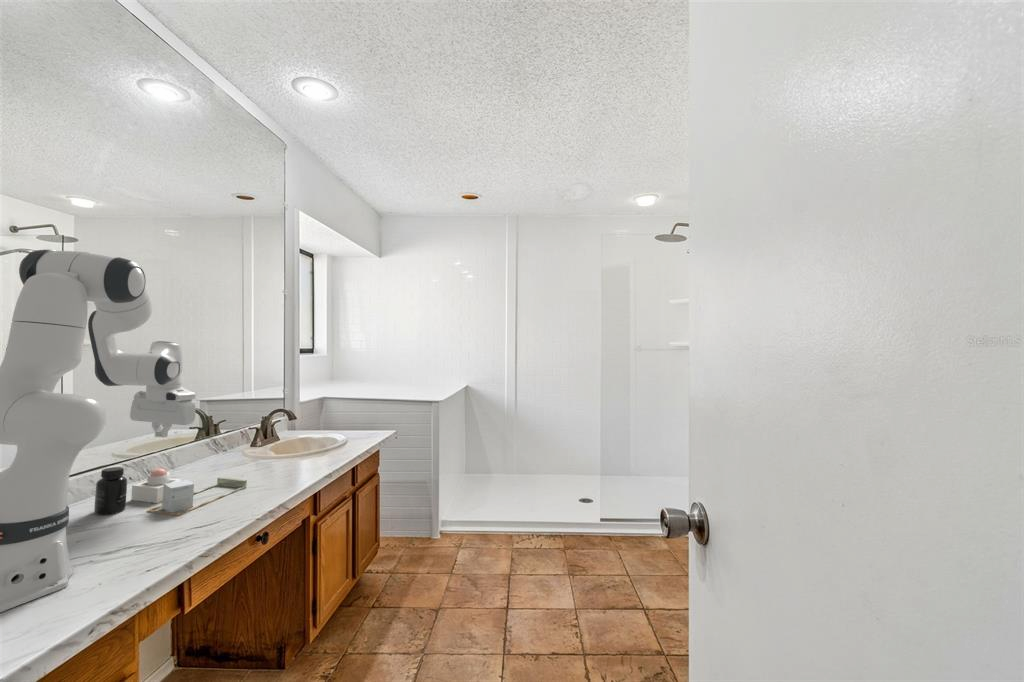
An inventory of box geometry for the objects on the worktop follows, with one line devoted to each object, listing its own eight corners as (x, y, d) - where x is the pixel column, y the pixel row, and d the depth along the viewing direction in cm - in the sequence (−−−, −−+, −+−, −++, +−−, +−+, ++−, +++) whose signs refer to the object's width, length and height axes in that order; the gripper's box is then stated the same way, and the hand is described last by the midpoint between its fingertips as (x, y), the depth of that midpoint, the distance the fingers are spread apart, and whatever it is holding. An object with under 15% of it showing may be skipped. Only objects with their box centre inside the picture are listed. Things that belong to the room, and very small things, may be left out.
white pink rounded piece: (157, 492, 141) (158, 472, 141) (141, 490, 142) (143, 470, 142) (173, 487, 146) (174, 467, 146) (158, 485, 147) (159, 465, 147)
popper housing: (157, 503, 139) (157, 488, 139) (131, 500, 140) (132, 485, 140) (182, 493, 148) (183, 479, 148) (158, 490, 149) (158, 477, 149)
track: (178, 515, 131) (178, 507, 131) (146, 512, 132) (146, 503, 132) (246, 487, 157) (246, 480, 157) (219, 484, 159) (219, 477, 159)
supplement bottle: (127, 511, 132) (129, 469, 132) (95, 517, 127) (98, 473, 127) (123, 504, 136) (126, 464, 136) (92, 510, 131) (95, 468, 131)
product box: (168, 513, 132) (169, 488, 132) (161, 508, 136) (162, 483, 136) (193, 508, 137) (194, 483, 137) (185, 503, 141) (187, 479, 141)
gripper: (125, 391, 143) (122, 435, 143) (183, 396, 140) (180, 441, 140) (144, 389, 149) (141, 432, 149) (200, 394, 146) (197, 437, 146)
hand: (161, 436), depth 144 cm, fingers closed
